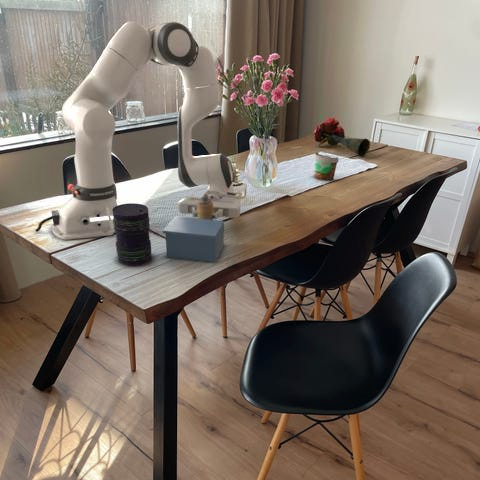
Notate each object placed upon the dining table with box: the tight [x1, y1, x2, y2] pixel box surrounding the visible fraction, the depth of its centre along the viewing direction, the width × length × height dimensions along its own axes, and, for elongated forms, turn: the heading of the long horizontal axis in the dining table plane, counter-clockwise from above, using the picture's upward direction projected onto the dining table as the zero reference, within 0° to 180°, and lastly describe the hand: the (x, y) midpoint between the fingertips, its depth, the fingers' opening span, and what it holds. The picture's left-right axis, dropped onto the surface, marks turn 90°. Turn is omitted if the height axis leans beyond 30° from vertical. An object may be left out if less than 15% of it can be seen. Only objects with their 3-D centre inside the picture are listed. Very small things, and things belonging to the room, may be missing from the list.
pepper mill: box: [196, 193, 214, 220], centre depth 153 cm, size 5×5×14 cm
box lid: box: [162, 215, 225, 238], centre depth 143 cm, size 15×12×1 cm
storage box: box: [165, 223, 225, 263], centre depth 145 cm, size 15×12×7 cm
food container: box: [313, 151, 339, 181], centre depth 213 cm, size 12×6×10 cm, turn 42°
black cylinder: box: [112, 202, 153, 267], centre depth 137 cm, size 10×10×15 cm
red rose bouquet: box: [313, 117, 371, 158], centre depth 262 cm, size 16×18×35 cm
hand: (204, 215), depth 152 cm, fingers closed on pepper mill, 5 cm apart
